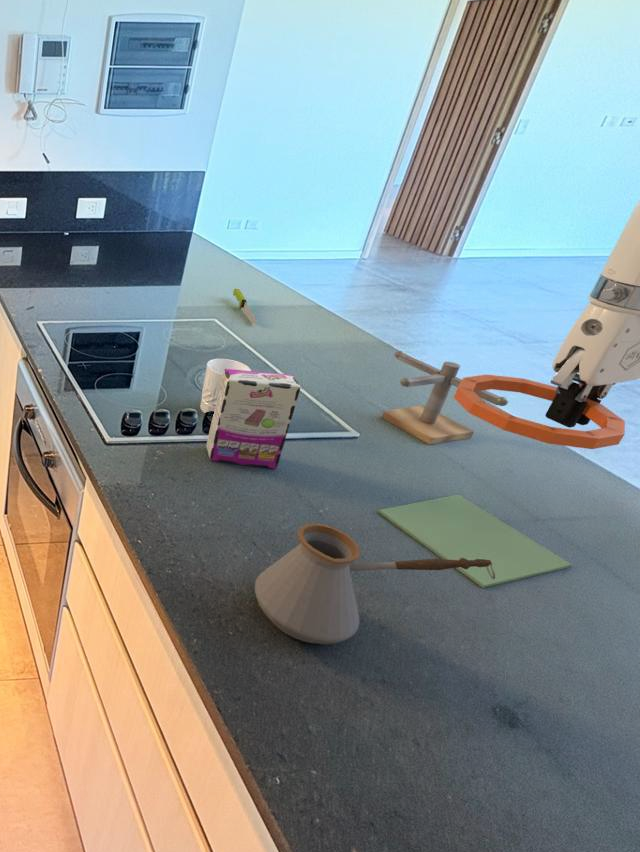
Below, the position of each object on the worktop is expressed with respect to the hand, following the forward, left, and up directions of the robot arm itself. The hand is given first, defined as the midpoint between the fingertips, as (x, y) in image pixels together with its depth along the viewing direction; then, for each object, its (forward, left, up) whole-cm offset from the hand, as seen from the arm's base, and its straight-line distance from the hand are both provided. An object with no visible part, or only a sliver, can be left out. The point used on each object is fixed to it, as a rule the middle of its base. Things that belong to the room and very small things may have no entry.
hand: (565, 420), depth 85 cm
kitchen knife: (-24, -86, -20) cm, 91 cm away
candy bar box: (+26, -26, -20) cm, 42 cm away
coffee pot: (+39, +9, -20) cm, 45 cm away
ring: (+7, 0, +3) cm, 8 cm away
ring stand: (-13, -26, -20) cm, 35 cm away
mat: (+7, 0, -20) cm, 21 cm away
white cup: (+19, -41, -20) cm, 49 cm away
